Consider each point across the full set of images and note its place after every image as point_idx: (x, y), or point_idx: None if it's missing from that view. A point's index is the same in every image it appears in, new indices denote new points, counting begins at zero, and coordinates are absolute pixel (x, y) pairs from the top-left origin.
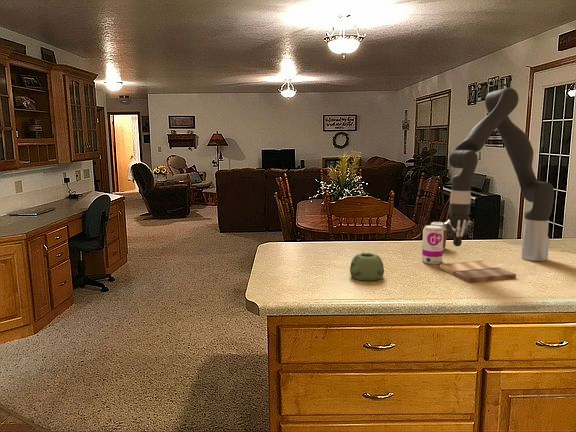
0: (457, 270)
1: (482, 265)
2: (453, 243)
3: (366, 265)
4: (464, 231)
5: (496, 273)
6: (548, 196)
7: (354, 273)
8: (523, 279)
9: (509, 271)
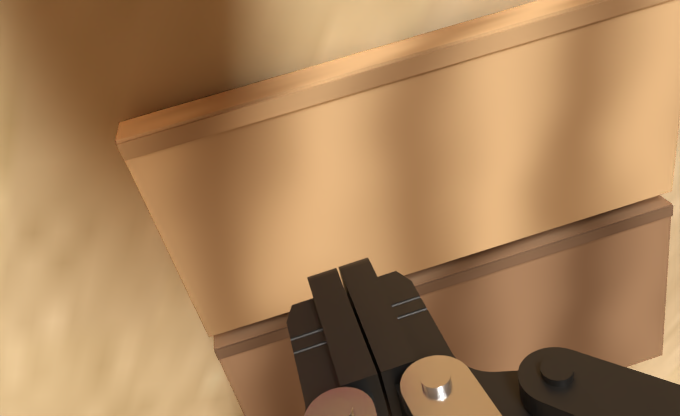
0: (254, 311)
1: (566, 150)
2: (291, 316)
3: None
4: (618, 397)
5: None
6: None
7: None
8: (666, 353)
9: (662, 304)
